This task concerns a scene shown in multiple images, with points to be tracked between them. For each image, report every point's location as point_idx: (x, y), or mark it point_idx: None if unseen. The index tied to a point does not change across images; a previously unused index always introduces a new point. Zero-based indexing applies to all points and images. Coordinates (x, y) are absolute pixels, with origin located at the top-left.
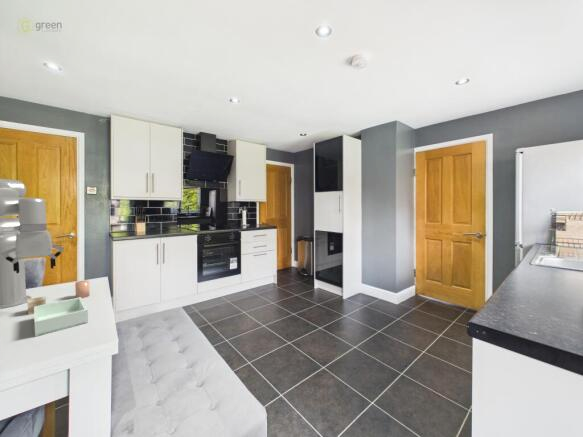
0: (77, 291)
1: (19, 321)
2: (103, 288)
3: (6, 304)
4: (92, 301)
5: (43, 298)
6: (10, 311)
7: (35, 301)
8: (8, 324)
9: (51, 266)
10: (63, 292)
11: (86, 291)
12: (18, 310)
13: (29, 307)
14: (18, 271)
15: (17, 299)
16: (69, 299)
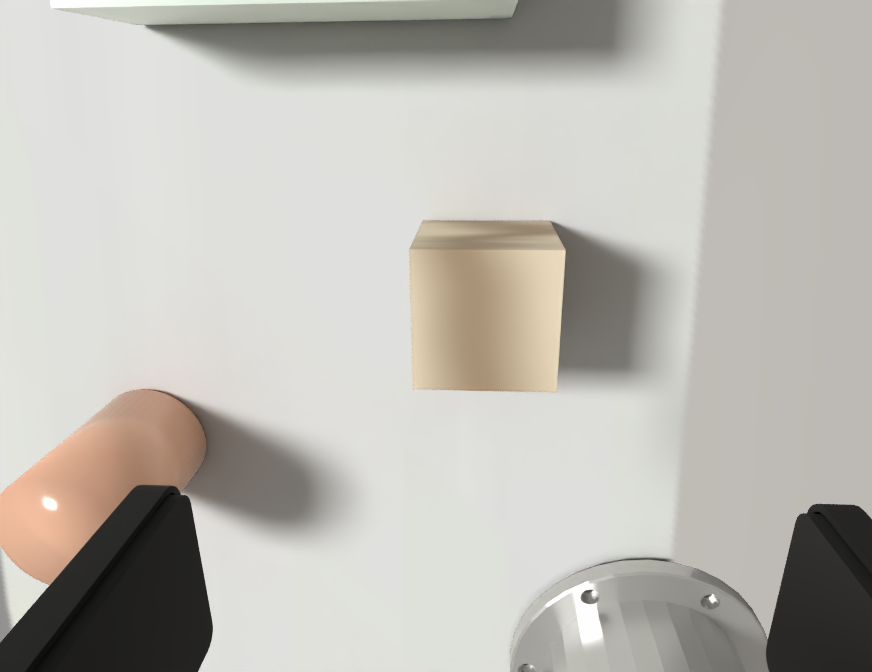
0: (155, 447)
1: (617, 87)
2: (8, 557)
3: (669, 599)
4: (61, 217)
5: (426, 308)
6: (650, 450)
7: (496, 251)
8: (694, 69)
9: (150, 521)
10: (303, 668)
11: (86, 423)
12: (601, 432)
13: (544, 236)
14: (829, 534)
15: (604, 626)
16: (169, 1)
